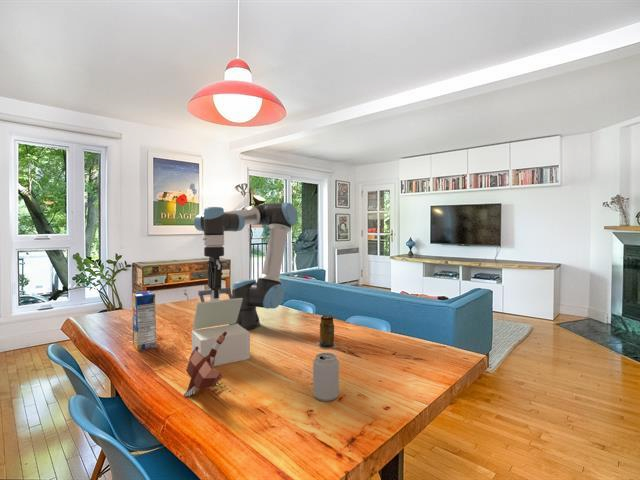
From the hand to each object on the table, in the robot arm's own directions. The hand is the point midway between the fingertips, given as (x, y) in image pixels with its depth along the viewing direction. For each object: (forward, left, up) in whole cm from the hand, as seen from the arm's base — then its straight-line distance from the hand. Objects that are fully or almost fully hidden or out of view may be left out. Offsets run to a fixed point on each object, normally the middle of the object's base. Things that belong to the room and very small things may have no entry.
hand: (214, 305), depth 138 cm
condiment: (-42, +17, -19) cm, 49 cm away
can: (-17, +54, -19) cm, 60 cm away
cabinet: (0, +7, -19) cm, 20 cm away
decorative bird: (+12, +32, -19) cm, 39 cm away
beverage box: (+23, -24, -19) cm, 38 cm away
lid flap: (0, +4, -3) cm, 5 cm away
